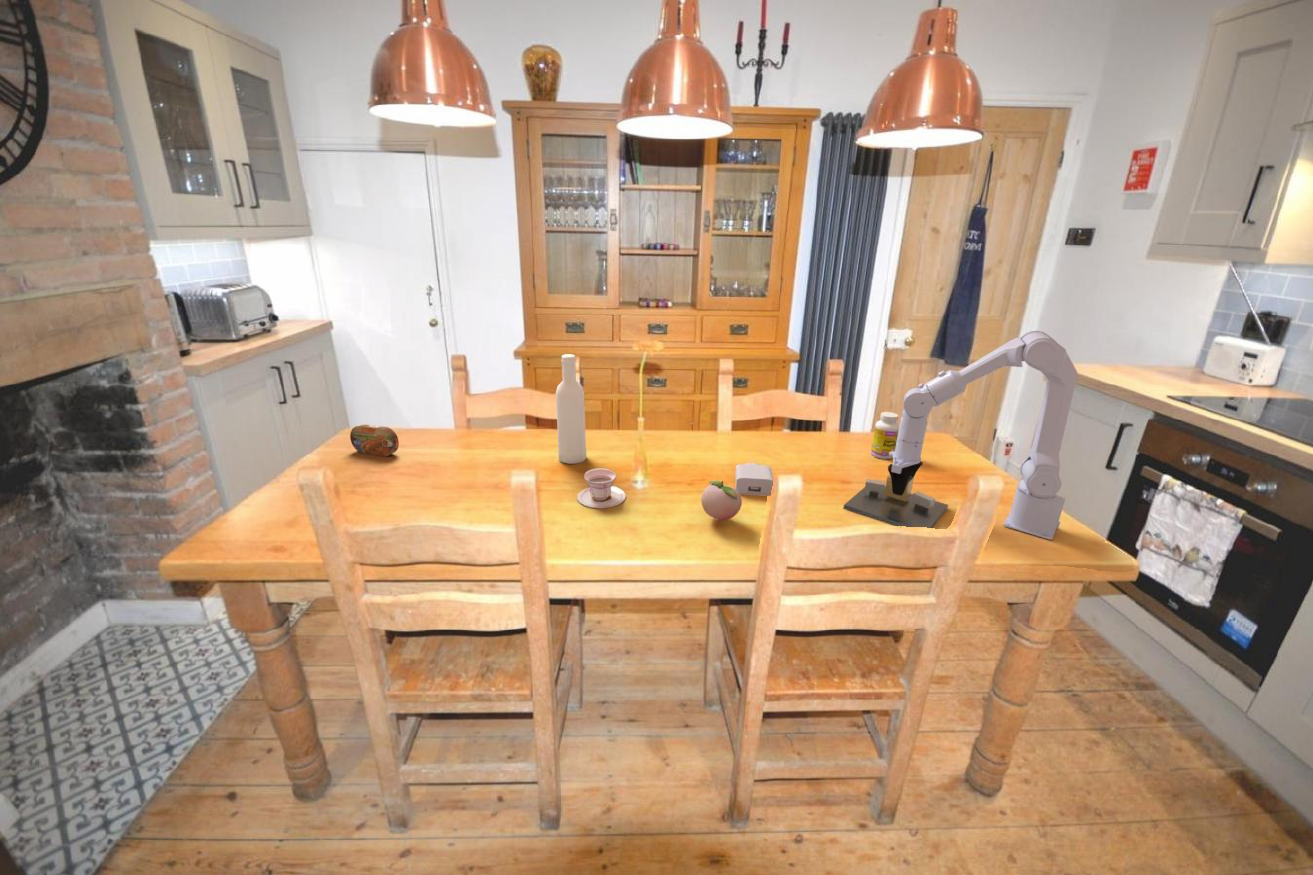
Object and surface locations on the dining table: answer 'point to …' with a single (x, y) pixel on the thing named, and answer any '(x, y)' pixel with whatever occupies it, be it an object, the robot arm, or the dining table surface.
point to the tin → (374, 440)
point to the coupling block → (905, 494)
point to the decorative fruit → (721, 501)
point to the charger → (753, 479)
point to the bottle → (570, 414)
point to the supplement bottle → (885, 435)
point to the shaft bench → (896, 506)
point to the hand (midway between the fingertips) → (900, 490)
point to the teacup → (600, 489)
